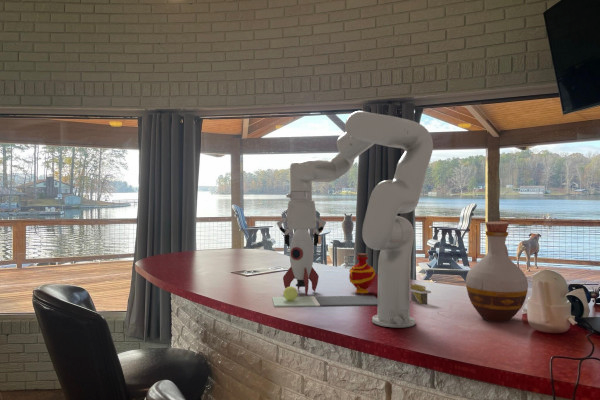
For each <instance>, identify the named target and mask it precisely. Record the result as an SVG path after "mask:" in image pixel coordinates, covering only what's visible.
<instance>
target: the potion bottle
mask: <svg viewBox="0 0 600 400" xmlns="http://www.w3.org/2000/svg"><path fill="white" fill-rule="evenodd" d="M368 255H369V254H368V253H364V252H361V253H360V252H359V253H357V256H356V259H357V260H358V262H357V263H356V264H355V265H352V266H351V268H350V269H349V271H348V272H349V277H348V279H349V283H351V285H353V286H354V287H355V288H356V289H355V291H354V292H355V293H358V294H368V293H369V291H368V289H369V288H370V287H371V286H372V285H373V283H374V282H375V279H376V271H375V269H374V267H373V266H371V265H369V264H368V262H367V261H368V259H369V257H368Z"/></svg>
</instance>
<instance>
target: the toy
mask: <svg viewBox="0 0 600 400" xmlns="http://www.w3.org/2000/svg"><path fill="white" fill-rule="evenodd" d="M312 240H313V239H312V236H311V234H310V233H309V229H295V231H294V234H293V236H292V239H291V241H290V246H289V247H290V248H289V261H290V262H289V264H290V267H289V268H288V270H287V271H286V272H285V273H284V275H283V277H282V281H283V285H284V286H283V287H284V290H285V289H286V288H287V287H290V286H291V283H292V282H293V281H294V280H296V281H297V282H296V284H295V287H297V291H299V290H300V288H304V293H305V294H304V295H305V297H308V293H309V283H310V282H311V290H312V291H313V292H316V289H317V286H318V283H319V274H318V273H317V271H316V270H315V269H314V266H313V265H314V241H312Z"/></svg>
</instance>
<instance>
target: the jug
mask: <svg viewBox="0 0 600 400" xmlns="http://www.w3.org/2000/svg"><path fill="white" fill-rule="evenodd" d="M509 224H510V223H509V222H508V221H487V222H485V226H486V227H485V228H486V229H487V231H485V236H487V241H488V251H487V254H486V255H484V256H483V257H482V258H481V259H480V260H479V261H478V262H477V263H476V264H475V265H473V266H472V267H471V268H470V269H469V271H468V272H467V274H466V278H465V286H466V292H467V296H468V298H469V301H470V303H471V305H472V307H474V309H475V310H476V312H477V313H478V315H479V316H480V317H481V318H482V319H483V320H485V321H489V322H495V323H496V322H497V323H506V322H510V321H511V320H512V319H513V318H514V317H515V316H516V315H517V313H518V312H519V311H521V309H522V308H523V305H524V304H525V301H526V298H527V295H528V289H529V282H528V278H527V276H526V274H525V273H524V271H523V270H521V268H520V267H519V266H517V264H515V262H514V261H512V260H511V258H510V257H509V252H508V250H509V249H508V247H507V244H506V240H507V237H508V235H509V231H507V230H508V227H509Z"/></svg>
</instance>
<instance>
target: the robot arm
mask: <svg viewBox="0 0 600 400" xmlns="http://www.w3.org/2000/svg"><path fill="white" fill-rule="evenodd" d="M344 123H345V124H344V130H345V132H344V133H343V134H341V135H340V136H339V137H338V138H337V140H336V147H337V150H338V152H339V153H337V154H336V155H335V156H333V157H332V158H330V159H329V160H326V159H325V160H324V159H314V158H312V159H311V158H310V159H306V160H303V161H294V162H292V163H290V166H289V168H290V173H289V174H290V177H289V178H290V181H289V182H290V185H289V187H290V192H289V193H286V197H285V198H289V199H290V200H288V202H287V212H286V217H284V218H282V219H281V220H278V221H277V222H276V225H277V227H278V229H279V230H280V231H281V233H283V234H284V245H286V247H290V235H289V234H290V232H291V230H297V229H307V230H312V231H313V235H312V236H313V239H312V240H313V246H315V247H316V246H317V247H318V244H319V235H320V234H321V232H322V231H323V230H324V229H325V226H326V225H327V222H326V221H325V220H324V219H322V218H320V217H318V216H317V211H316V202H315V201H314V200H313V191H312V190H313V189H312V188H313V187H312V186H313V182H314V183H316V182H317V183H319V182H320V183H331V182H334V181H337V179H339V178H341V177H342V176H343V175H346V173H348V172H349V171H350V169H351V168H352V166H353V165H354V162H355V159H356V158H357V157H359V156H360V155H361V154H363V153H364V152H365V151H367V150H369V149H370V148H371V147H373V146H374V145H380V146H384V147H390V148H396V149H403V150H404V153H403V154H402V156H401V157H400V158H399V160H398V162H397V164H396V169H395V173H394V176H393V179H387V180H382V181H380V182H379V183H377V185H375V187H374V188H373V190H371V191H372V192H371V194H370V197H369V200H368V204H367V208H366V211H365V216H364V220H363V224H362V230H361V236H362V237H361V238H362V240H363V242H364V244H365V245H366V247H367V248H369V249H371V250H373V251H379V255H378V260H377V299H378V305H376V307H377V309H376V310H377V314H375V315H373V316H372V317H371V319H372V320H371V322H372V323H373V324H375V325H377V326H380V327H387V328H397V329H398V328H399V329H400V328H411V327H413V326H414V325H416V319H415V318H414V317H413V316H411V291H410V287H411V271H412V270H411V269H412V268H411V266H412V265H411V263H412V252H413V251H412V250H413V245H414V239H415V231H414V227H413V225H412V223H411V222H410V220H408V219H407V218H405V217H403V216H400V215H398V214H409V213H411V212H414V210H415V209H416V208H417V206H418V204H419V202H420V201H419V200H420V197H421V193H422V189H423V186H424V183H425V180H426V175H427V170H428V167H429V165H430V162H431V161H430V160H431V157H432V155H433V151H434V150H433V149H434V142H433V138H432V135H431V134H430V131H429V130H428V129H427V128H426V127H425V126H424V125H422V124H420V123H419V122H416V121H414V120H411V119H407V118H403V117H402V118H401V117H398V116H394V115H393V116H392V115H388V114H380V113H374V112H369V111H365V110H356V111H354V112H352V113H351V114H350V115H348V117H347V119H346V121H345V122H344ZM317 222H318V223H320V226H319V227H317ZM284 223H286V229H285V228H284V226H283V224H284Z"/></svg>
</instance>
